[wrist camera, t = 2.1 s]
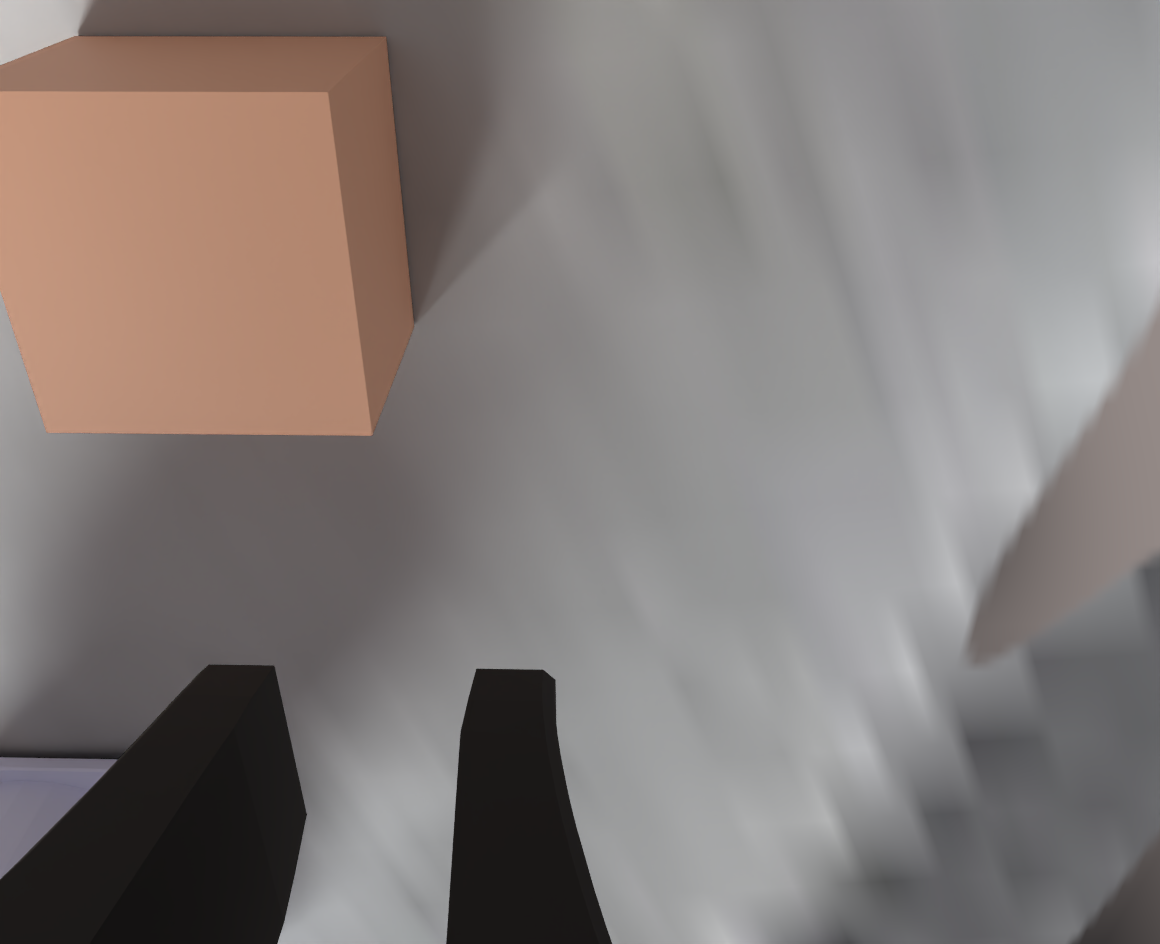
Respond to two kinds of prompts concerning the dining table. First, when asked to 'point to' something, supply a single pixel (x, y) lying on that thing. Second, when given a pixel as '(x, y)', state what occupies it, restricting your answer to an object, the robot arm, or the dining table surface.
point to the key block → (204, 233)
